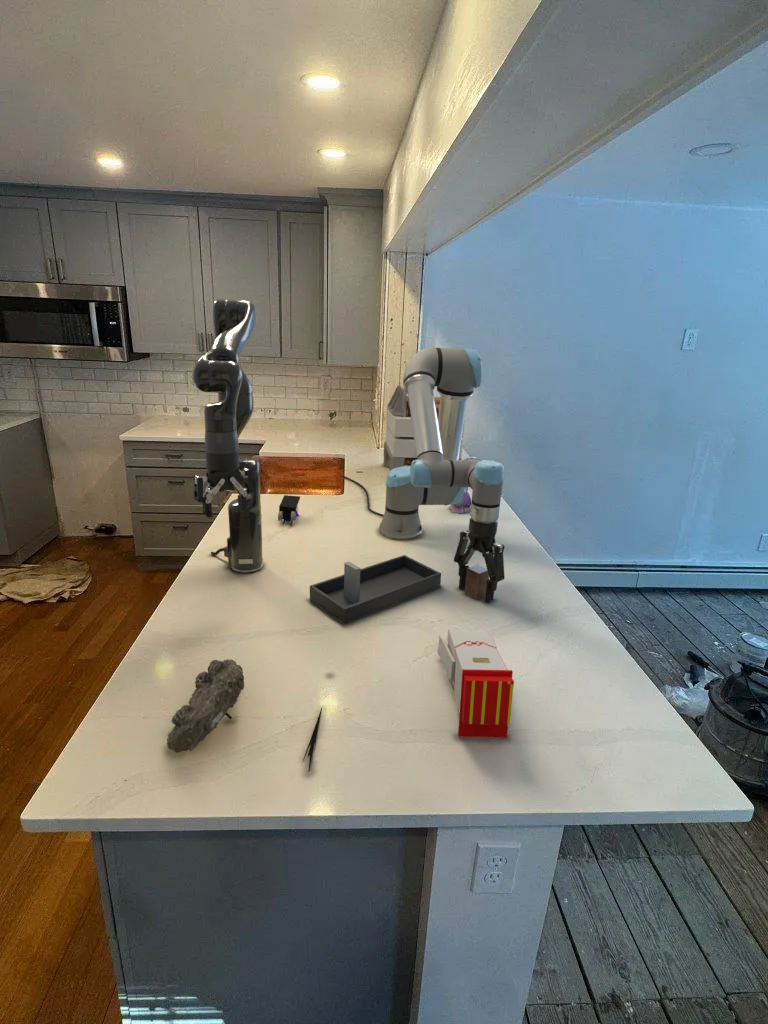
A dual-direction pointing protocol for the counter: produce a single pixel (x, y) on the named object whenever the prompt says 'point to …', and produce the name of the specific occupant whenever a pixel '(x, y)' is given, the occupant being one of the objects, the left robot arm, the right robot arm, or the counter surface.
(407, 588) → the tray
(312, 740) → the feather
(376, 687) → the counter surface
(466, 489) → the figurine
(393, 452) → the white wooden crate
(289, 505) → the figurine character
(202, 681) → the fossil
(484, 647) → the toy
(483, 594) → the block
